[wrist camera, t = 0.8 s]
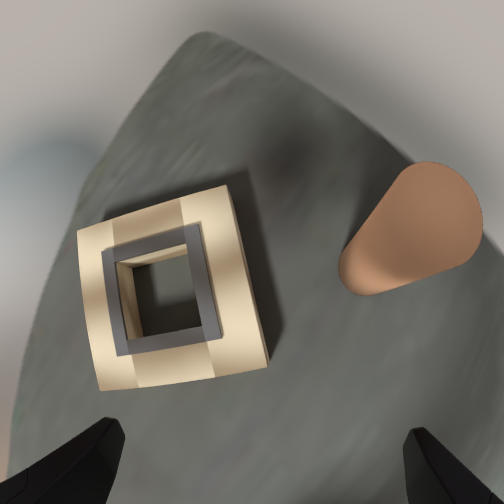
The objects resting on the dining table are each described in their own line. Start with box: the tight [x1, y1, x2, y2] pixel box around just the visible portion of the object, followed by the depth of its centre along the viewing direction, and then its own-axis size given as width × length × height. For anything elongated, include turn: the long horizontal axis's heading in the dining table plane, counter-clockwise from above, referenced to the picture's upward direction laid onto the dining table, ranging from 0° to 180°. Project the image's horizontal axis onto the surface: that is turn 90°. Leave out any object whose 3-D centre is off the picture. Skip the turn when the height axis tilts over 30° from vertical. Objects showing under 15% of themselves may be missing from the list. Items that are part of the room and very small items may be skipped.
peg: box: [338, 162, 483, 296], centre depth 16 cm, size 4×4×12 cm
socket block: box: [77, 185, 270, 391], centre depth 21 cm, size 12×12×3 cm
